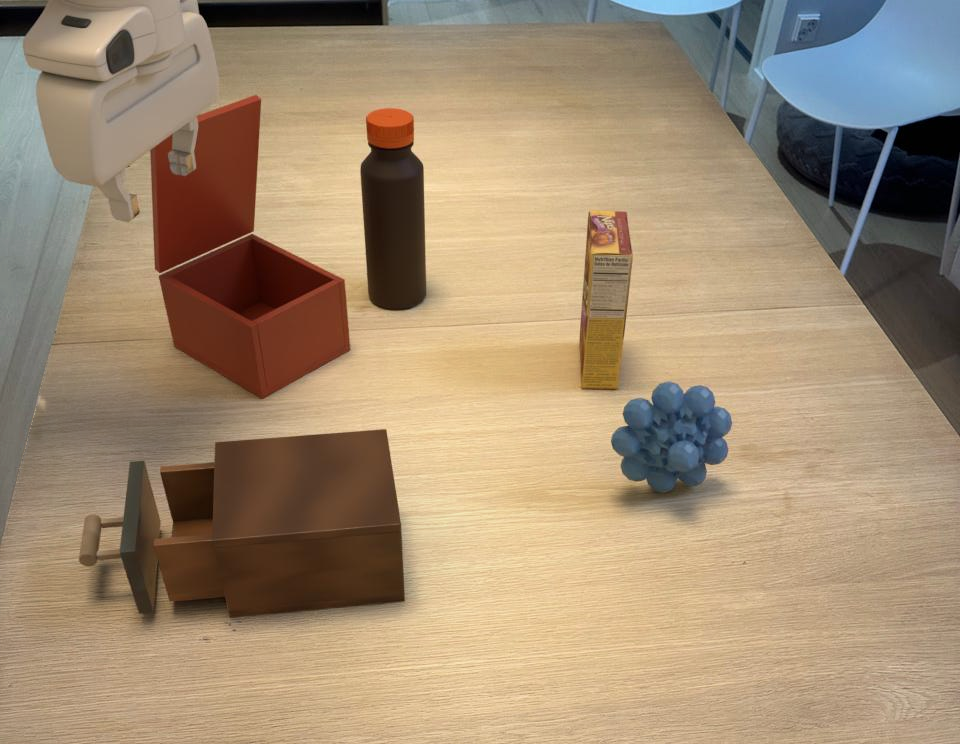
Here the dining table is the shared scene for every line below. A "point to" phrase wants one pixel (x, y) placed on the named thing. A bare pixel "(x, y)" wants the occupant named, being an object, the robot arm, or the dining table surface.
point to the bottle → (393, 211)
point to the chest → (256, 314)
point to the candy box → (604, 298)
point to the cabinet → (307, 523)
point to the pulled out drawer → (180, 556)
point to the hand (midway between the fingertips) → (156, 194)
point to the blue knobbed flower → (672, 436)
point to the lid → (207, 186)
